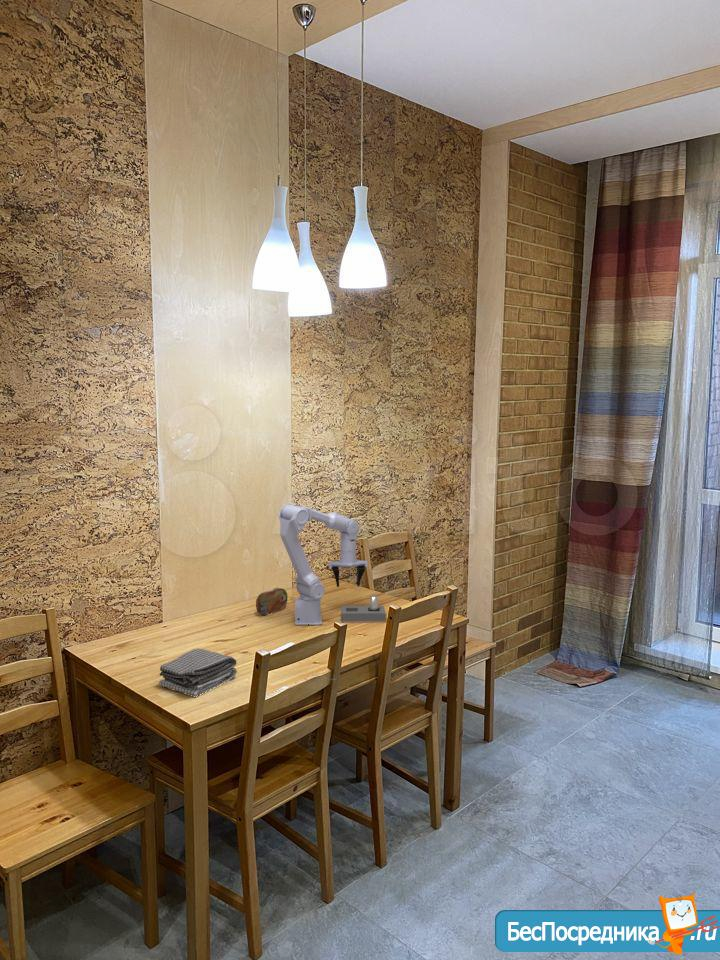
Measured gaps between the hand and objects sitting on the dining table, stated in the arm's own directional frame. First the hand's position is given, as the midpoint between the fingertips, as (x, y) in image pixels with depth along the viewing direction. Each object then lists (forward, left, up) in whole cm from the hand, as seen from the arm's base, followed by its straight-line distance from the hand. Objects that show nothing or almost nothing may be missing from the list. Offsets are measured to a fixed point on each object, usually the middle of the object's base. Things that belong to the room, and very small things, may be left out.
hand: (348, 585), depth 283 cm
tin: (-29, +2, -11) cm, 31 cm away
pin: (+9, -8, -10) cm, 16 cm away
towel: (-45, -63, -11) cm, 78 cm away
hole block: (+5, -7, -10) cm, 14 cm away
